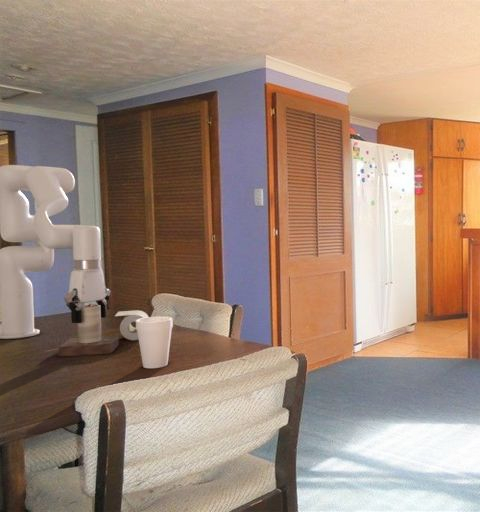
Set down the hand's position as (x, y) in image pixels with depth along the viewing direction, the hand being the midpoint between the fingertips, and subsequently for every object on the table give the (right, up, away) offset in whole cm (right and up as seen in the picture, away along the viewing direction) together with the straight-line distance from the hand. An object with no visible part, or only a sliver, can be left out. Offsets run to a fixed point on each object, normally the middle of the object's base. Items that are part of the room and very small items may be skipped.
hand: (89, 320), depth 164 cm
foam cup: (+28, -11, -16) cm, 34 cm away
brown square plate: (0, -10, +1) cm, 10 cm away
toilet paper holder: (+7, -9, +20) cm, 23 cm away
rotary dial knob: (0, -7, 0) cm, 7 cm away
